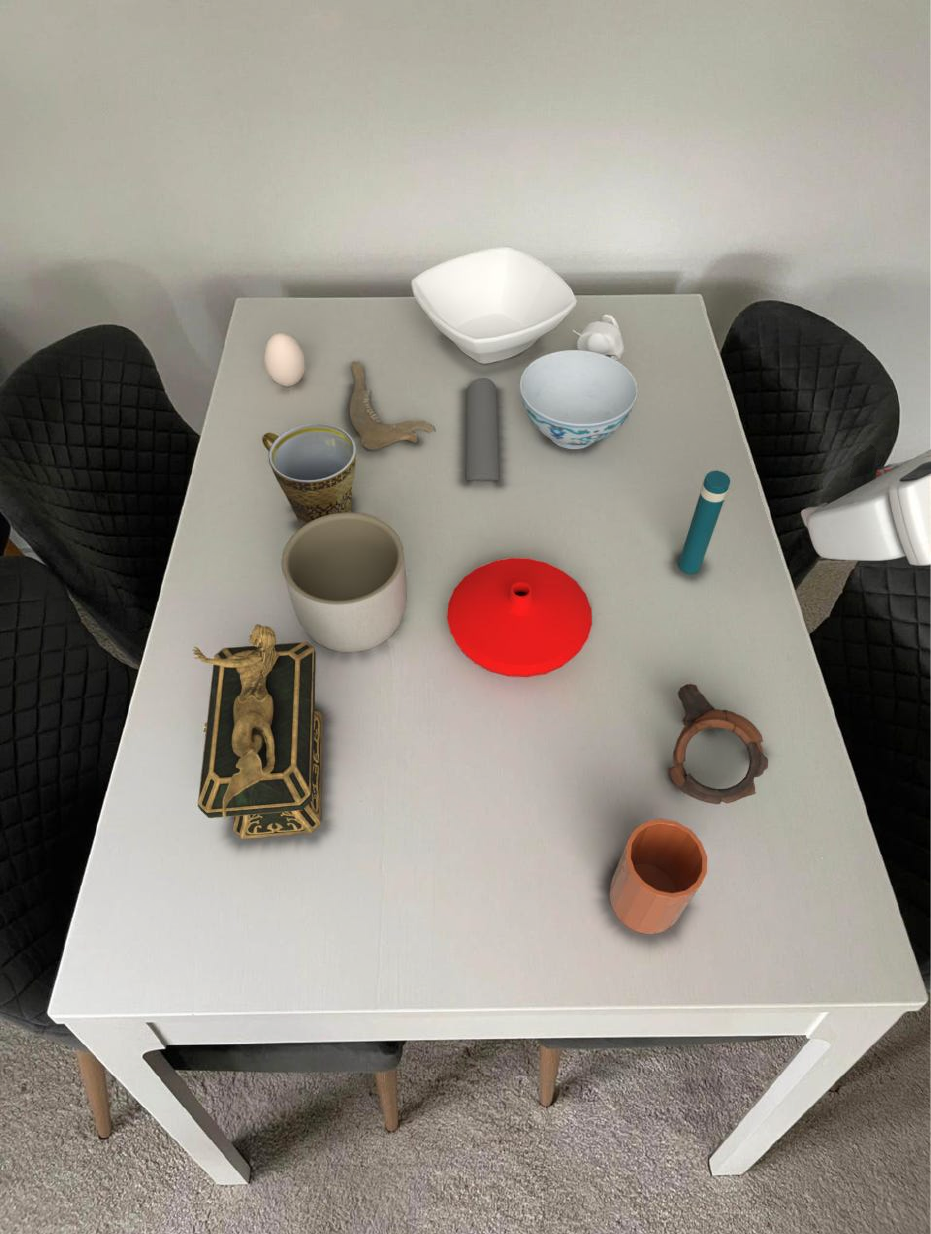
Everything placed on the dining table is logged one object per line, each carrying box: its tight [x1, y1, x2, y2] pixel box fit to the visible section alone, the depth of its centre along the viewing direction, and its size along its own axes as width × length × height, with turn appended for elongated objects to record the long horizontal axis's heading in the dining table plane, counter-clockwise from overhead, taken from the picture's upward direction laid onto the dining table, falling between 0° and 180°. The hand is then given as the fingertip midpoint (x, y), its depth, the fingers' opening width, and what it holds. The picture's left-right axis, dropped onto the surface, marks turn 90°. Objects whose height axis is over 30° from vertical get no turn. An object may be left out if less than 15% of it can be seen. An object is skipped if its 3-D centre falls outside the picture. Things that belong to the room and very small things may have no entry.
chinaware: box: [519, 349, 639, 450], centre depth 108 cm, size 15×15×8 cm
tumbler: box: [609, 818, 708, 935], centre depth 70 cm, size 6×6×10 cm
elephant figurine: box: [572, 314, 626, 361], centre depth 118 cm, size 7×8×6 cm
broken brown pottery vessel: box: [668, 683, 769, 805], centre depth 80 cm, size 12×10×8 cm
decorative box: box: [192, 623, 323, 840], centre depth 72 cm, size 20×10×20 cm, turn 5°
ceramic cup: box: [261, 422, 357, 526], centre depth 99 cm, size 13×10×10 cm
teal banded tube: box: [677, 470, 731, 575], centre depth 91 cm, size 3×3×14 cm
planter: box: [281, 511, 408, 653], centre depth 88 cm, size 12×12×11 cm
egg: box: [263, 332, 306, 387], centre depth 114 cm, size 6×6×8 cm
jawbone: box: [348, 360, 437, 451], centre depth 113 cm, size 9×20×2 cm, turn 37°
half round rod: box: [465, 377, 500, 482], centre depth 110 cm, size 4×20×2 cm, turn 179°
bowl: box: [410, 246, 578, 364], centre depth 119 cm, size 21×21×9 cm
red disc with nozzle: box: [446, 557, 593, 678], centre depth 88 cm, size 16×16×7 cm
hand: (846, 496), depth 74 cm, fingers open, 8 cm apart
